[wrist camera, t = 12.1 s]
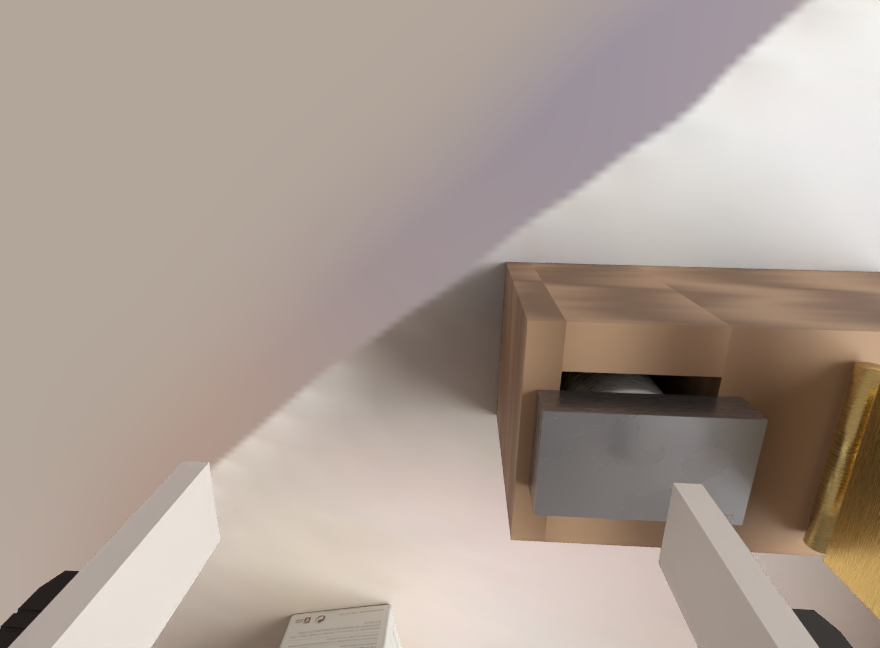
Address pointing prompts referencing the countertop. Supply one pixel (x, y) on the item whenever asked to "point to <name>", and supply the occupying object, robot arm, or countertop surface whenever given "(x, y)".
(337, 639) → the supplement box
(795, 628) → the robot arm
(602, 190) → the countertop surface
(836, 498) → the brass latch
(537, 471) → the grey block
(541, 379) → the socket block
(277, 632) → the countertop surface
